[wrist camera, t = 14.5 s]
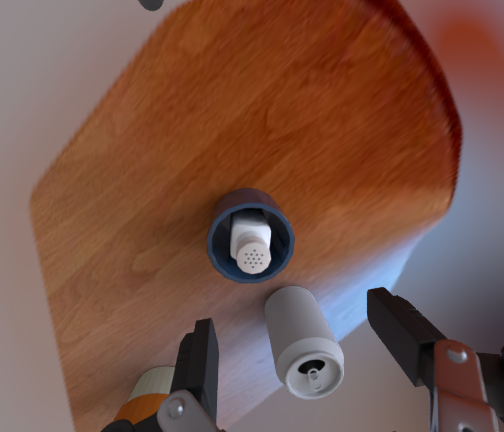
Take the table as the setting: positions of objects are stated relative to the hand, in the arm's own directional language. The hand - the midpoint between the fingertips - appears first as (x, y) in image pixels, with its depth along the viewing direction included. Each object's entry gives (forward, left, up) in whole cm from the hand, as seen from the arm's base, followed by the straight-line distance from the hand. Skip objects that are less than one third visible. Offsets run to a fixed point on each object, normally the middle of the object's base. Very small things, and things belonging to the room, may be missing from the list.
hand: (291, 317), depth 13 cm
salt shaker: (0, -2, -20) cm, 20 cm away
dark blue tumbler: (0, -2, -21) cm, 21 cm away
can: (+11, -11, -21) cm, 26 cm away
